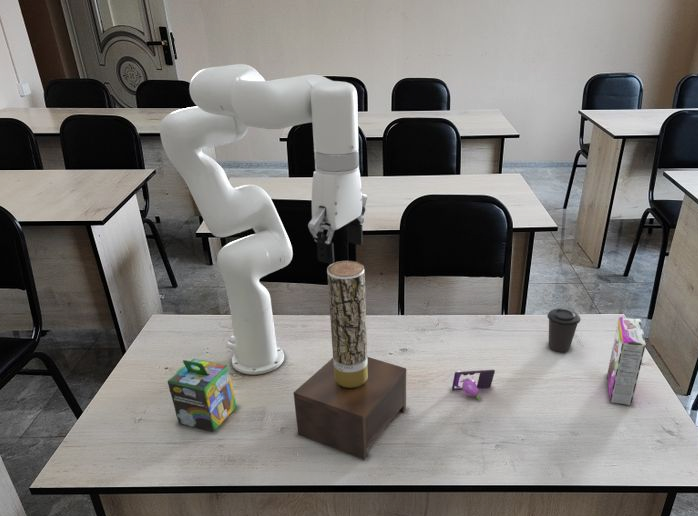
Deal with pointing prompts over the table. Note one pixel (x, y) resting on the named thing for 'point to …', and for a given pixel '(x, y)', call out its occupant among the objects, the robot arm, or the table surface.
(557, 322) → the coffee cup
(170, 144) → the robot arm
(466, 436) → the table surface
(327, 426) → the walnut storage box
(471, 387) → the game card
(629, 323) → the candy bar box
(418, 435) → the table surface
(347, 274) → the paper tube
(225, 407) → the chalk box
